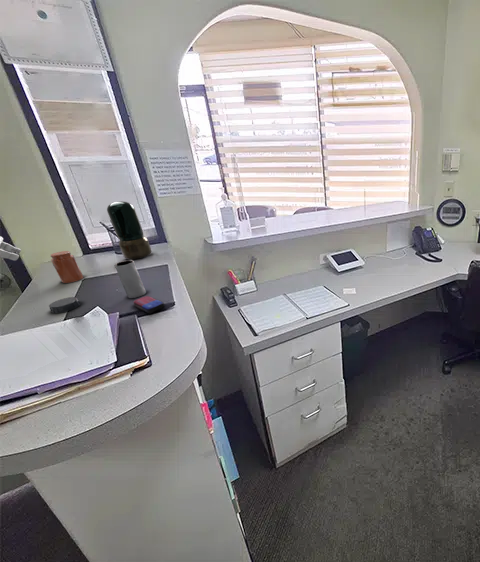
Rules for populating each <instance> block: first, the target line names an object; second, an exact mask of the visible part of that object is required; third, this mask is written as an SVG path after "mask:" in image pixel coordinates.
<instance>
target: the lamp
mask: <svg viewBox="0 0 480 562" xmlns="http://www.w3.org/2000/svg"><path fill="white" fill-rule="evenodd" d="M106 212H107V214H108V217H109V219H110V222H111V224H112V227H113V229H114V231H115V234H116V236H117V238H118V240H119V241H118V246H119V249H120V251H121V254H122V256H123V257H124V259H127V260H139V259H143V258H146V257H149V256H150V255H151V254H152V252H153V250H152V247H151V244H150V241H149V239H148V238H147V237H146V236H145V235H144V229H143V228H142V224H141V223H140V219H139V217H138V216H139V215H138V214H137V211H136V208H135V206H134V205H133V204H132V203H131V202H128V201H123V200H122V201H113V202H111V203H109V204H108V205H107V207H106Z"/></svg>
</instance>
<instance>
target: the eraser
mask: <svg viewBox="0 0 480 562" xmlns="http://www.w3.org/2000/svg"><path fill="white" fill-rule="evenodd" d="M133 306H134V307H135V308H137V309H139V310H140V311H143V312H144V313H147V314H150V315H151V314H153V313H155V312H157V311H159V310H161V309H163V308H165V303H164V302H163V301H160V300H159V299H156V298H153V297H151V296H149V295H145V296H141V297H139V298H137V299H135V300H134V301H133Z"/></svg>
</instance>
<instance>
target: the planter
mask: <svg viewBox="0 0 480 562" xmlns="http://www.w3.org/2000/svg"><path fill="white" fill-rule="evenodd" d="M114 268H115V271H116V273H117V275H118V278H119V279H120V282H121V284H122V288H123V289H124V291H125V295H126V296H127V298H128V299H135V298H137V299H138V298H141V297H144V295H146V294H147V290H146V289H145V286H144V283H143V281H142V279H141V276H140V274H139V270H138V269H137V266H136V264H135V261H134V259H127V260H122V261H119V262H116V263H115V264H114Z"/></svg>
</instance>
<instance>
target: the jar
mask: <svg viewBox="0 0 480 562" xmlns="http://www.w3.org/2000/svg"><path fill="white" fill-rule="evenodd" d="M50 258H51V259H50V261H51V264H52V265H53V268H54V269H55V271H56V273H57V275H58V277H59V279H60V281H61V283H63V284H70V283H74V282H78V281H80V280H83V279H84V278H85V277H84V275H83V272H82V270H81V268H80V266H79V263H78V262H77V260H76V258H75V255H73V254H72V253H71V251H69V250H62V251H56V252H53V253H51V254H50Z"/></svg>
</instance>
